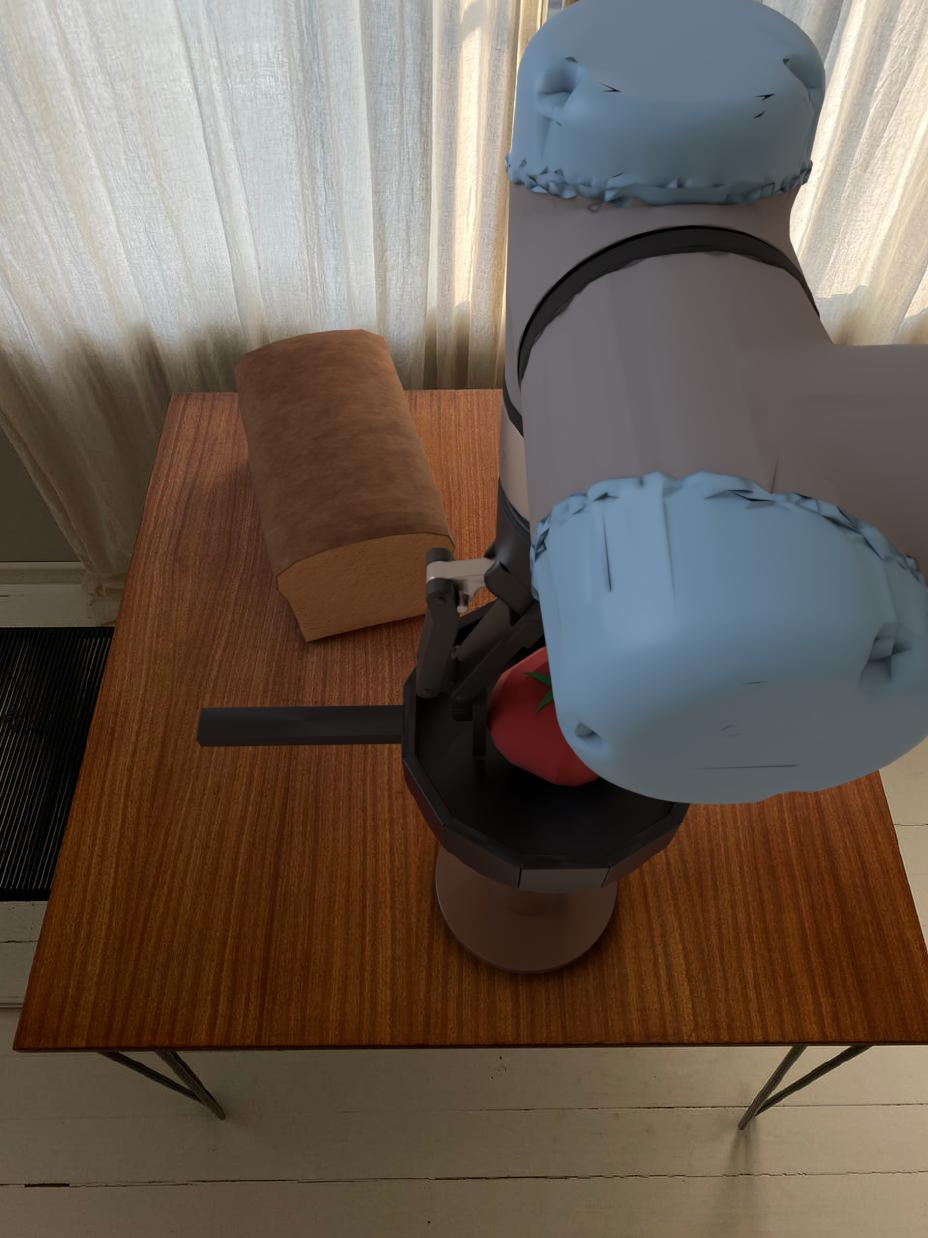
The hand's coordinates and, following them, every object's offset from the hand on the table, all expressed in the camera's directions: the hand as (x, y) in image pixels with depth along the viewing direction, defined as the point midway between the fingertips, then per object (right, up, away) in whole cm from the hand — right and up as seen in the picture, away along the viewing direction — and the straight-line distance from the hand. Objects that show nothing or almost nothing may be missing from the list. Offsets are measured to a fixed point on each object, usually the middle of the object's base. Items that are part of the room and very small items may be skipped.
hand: (551, 733), depth 52 cm
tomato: (0, 0, 0) cm, 1 cm away
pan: (-6, -17, +26) cm, 31 cm away
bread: (-18, +18, +48) cm, 54 cm away
